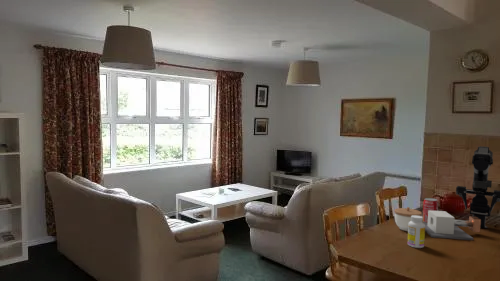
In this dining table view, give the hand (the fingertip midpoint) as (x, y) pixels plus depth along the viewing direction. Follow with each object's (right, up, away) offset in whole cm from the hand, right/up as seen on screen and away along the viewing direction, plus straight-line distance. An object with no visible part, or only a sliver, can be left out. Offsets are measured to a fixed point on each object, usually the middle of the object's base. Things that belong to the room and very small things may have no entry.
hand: (478, 210), depth 166 cm
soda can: (-8, -12, +28) cm, 32 cm away
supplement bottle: (-32, -14, -8) cm, 36 cm away
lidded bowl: (-25, -13, +17) cm, 33 cm away
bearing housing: (-8, -13, +13) cm, 20 cm away
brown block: (-1, -11, +12) cm, 16 cm away
